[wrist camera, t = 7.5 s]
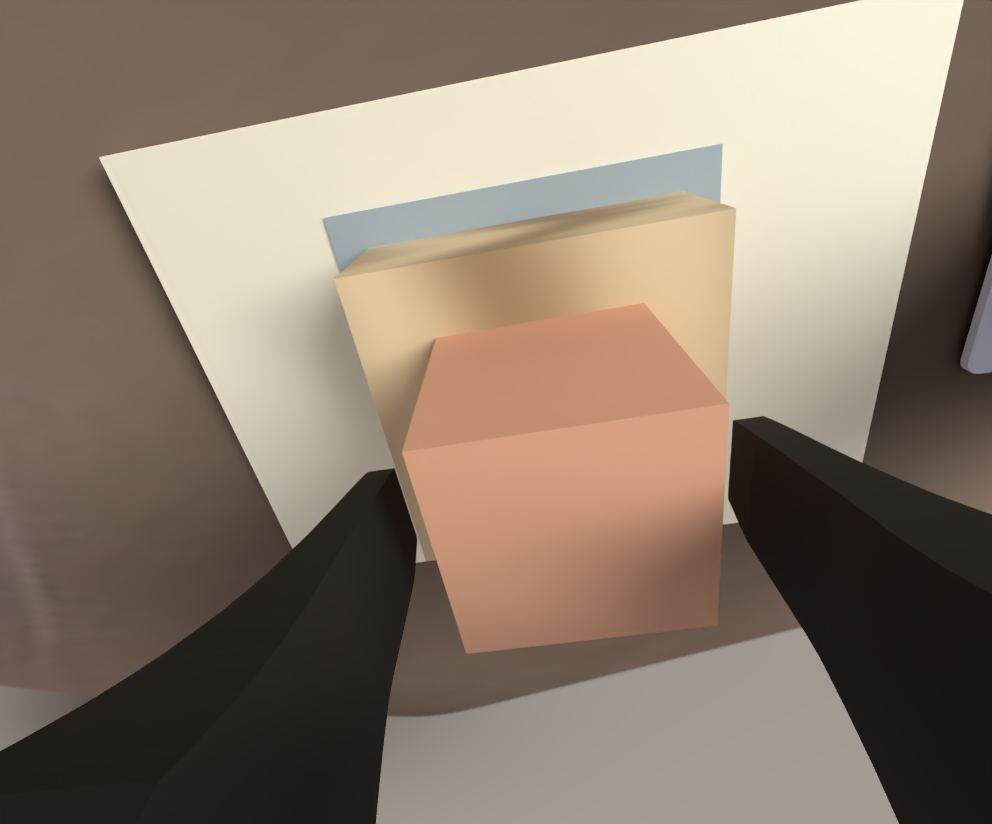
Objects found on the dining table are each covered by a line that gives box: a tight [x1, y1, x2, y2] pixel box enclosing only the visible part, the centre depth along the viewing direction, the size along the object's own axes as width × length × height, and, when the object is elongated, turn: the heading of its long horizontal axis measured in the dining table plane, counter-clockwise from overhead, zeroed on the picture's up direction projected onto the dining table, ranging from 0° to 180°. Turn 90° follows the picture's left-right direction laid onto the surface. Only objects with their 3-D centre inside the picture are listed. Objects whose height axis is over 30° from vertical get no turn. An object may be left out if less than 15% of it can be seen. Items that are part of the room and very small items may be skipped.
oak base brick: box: [334, 191, 736, 561], centre depth 15 cm, size 9×9×4 cm
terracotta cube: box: [402, 303, 729, 654], centre depth 11 cm, size 5×5×5 cm
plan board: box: [99, 0, 963, 563], centre depth 17 cm, size 22×16×1 cm
